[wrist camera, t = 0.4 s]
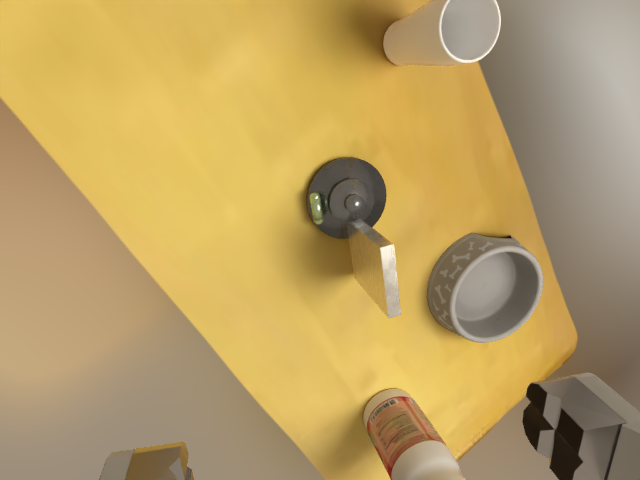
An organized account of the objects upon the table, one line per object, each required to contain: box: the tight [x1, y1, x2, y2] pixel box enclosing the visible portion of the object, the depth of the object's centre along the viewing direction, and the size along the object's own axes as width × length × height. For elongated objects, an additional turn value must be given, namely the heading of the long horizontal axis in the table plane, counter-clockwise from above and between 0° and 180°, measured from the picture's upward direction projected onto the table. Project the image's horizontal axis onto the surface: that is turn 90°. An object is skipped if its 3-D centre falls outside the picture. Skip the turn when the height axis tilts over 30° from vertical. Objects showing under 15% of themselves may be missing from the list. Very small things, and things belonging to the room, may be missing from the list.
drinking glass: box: [383, 0, 501, 67], centre depth 46 cm, size 7×7×15 cm
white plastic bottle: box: [363, 389, 467, 480], centre depth 59 cm, size 9×9×28 cm
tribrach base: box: [307, 157, 386, 239], centre depth 57 cm, size 11×11×2 cm
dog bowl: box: [427, 233, 543, 343], centre depth 66 cm, size 17×18×5 cm
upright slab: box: [327, 178, 401, 318], centre depth 53 cm, size 14×6×12 cm, turn 10°
